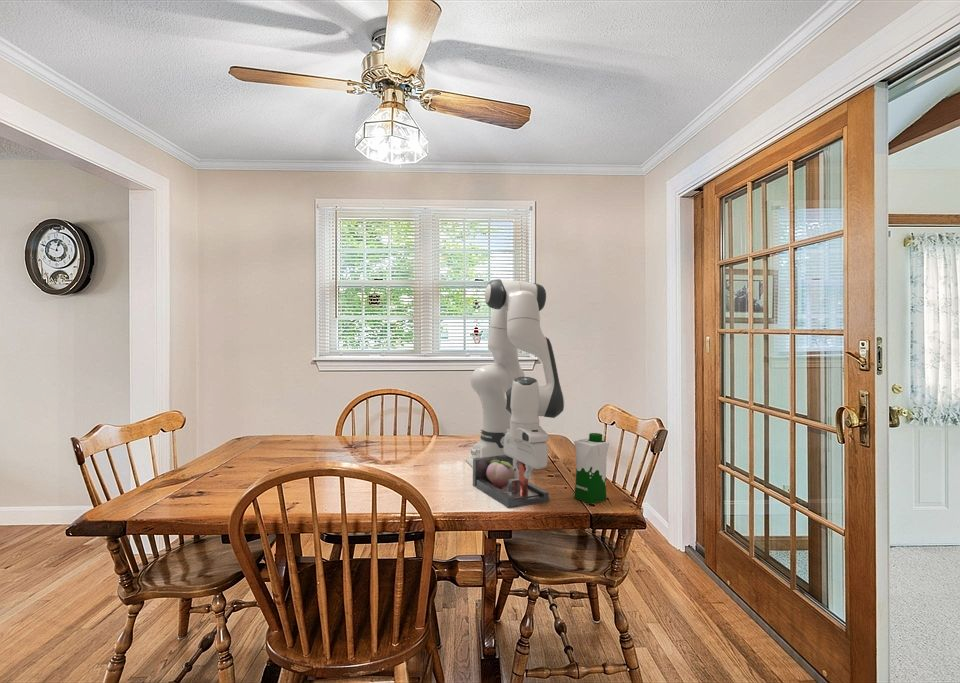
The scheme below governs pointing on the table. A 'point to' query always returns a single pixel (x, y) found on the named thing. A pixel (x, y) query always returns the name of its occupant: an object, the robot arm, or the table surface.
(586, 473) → the milk carton
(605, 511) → the table surface
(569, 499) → the table surface
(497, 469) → the decorative fruit
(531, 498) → the press base
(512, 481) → the handle
